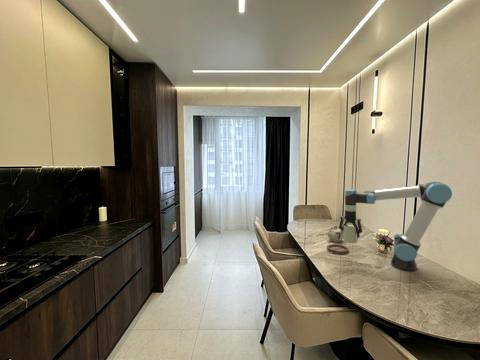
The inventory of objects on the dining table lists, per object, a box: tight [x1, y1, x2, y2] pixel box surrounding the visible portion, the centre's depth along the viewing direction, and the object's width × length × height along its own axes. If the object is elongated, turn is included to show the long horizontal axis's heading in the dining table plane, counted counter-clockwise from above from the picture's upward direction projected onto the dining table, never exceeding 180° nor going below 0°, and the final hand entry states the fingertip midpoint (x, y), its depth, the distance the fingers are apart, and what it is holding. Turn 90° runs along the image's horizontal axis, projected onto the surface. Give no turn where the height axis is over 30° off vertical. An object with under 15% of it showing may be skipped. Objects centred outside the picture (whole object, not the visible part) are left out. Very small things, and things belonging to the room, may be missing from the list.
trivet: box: [326, 243, 350, 255], centre depth 193 cm, size 17×17×2 cm
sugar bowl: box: [326, 225, 343, 243], centre depth 218 cm, size 20×15×15 cm
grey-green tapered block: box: [342, 224, 358, 244], centre depth 167 cm, size 9×9×12 cm
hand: (350, 240), depth 168 cm, fingers closed on grey-green tapered block, 9 cm apart
